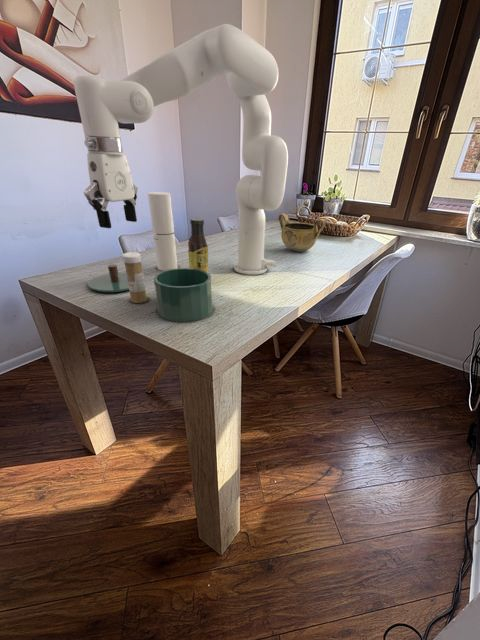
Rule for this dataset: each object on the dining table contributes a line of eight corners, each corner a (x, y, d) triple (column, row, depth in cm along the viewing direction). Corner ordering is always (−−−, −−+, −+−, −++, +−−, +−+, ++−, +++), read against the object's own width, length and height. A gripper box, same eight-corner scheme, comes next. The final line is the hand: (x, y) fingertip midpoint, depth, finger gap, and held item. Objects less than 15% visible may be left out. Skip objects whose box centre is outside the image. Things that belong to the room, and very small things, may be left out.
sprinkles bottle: (128, 300, 90) (118, 253, 82) (142, 296, 93) (134, 250, 85) (136, 305, 87) (127, 257, 80) (150, 300, 90) (143, 254, 83)
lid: (146, 276, 106) (144, 258, 103) (135, 294, 93) (131, 274, 90) (99, 275, 105) (95, 257, 101) (80, 293, 92) (75, 273, 88)
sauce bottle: (200, 286, 101) (196, 222, 91) (186, 282, 104) (180, 219, 93) (213, 281, 106) (210, 219, 95) (199, 277, 109) (195, 216, 98)
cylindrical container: (172, 271, 112) (164, 195, 98) (154, 269, 113) (143, 193, 99) (180, 265, 118) (174, 192, 104) (163, 263, 119) (154, 191, 105)
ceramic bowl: (326, 251, 147) (332, 217, 139) (311, 258, 135) (317, 222, 127) (285, 242, 157) (288, 210, 149) (268, 249, 144) (270, 214, 136)
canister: (213, 299, 93) (212, 268, 88) (210, 322, 81) (209, 288, 76) (163, 298, 92) (159, 267, 87) (153, 322, 80) (148, 287, 74)
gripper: (88, 146, 64) (106, 232, 74) (141, 148, 78) (151, 220, 88) (60, 144, 66) (81, 228, 76) (117, 147, 80) (129, 217, 89)
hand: (119, 224), depth 82 cm, fingers open, 9 cm apart
